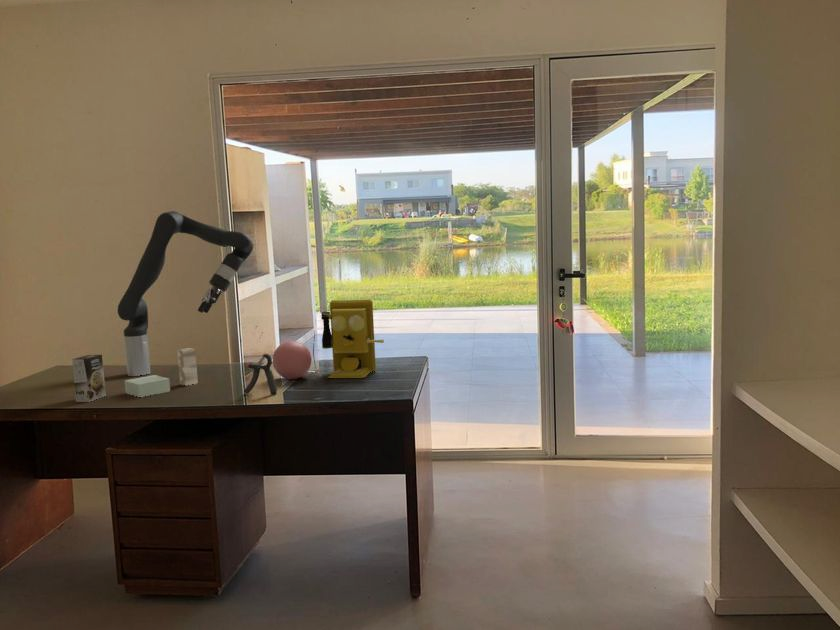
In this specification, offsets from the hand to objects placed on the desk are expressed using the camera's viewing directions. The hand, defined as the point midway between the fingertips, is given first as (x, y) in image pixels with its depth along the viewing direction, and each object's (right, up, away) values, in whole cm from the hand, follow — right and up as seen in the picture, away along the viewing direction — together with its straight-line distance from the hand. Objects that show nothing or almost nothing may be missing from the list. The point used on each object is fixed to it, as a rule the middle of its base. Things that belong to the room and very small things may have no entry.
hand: (202, 311), depth 282 cm
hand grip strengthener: (+29, -31, -24) cm, 48 cm away
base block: (-17, -31, -13) cm, 37 cm away
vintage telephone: (+58, -26, +4) cm, 64 cm away
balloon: (+37, -27, +3) cm, 46 cm away
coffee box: (-35, -33, -21) cm, 52 cm away
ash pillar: (-5, -29, -1) cm, 29 cm away
